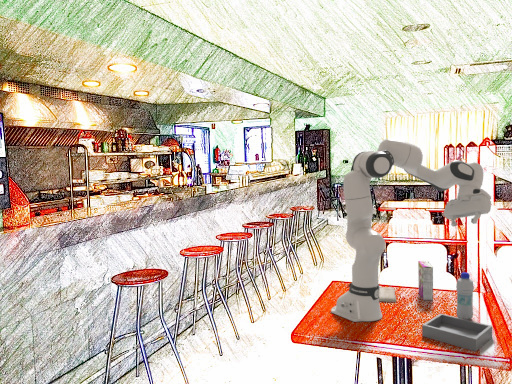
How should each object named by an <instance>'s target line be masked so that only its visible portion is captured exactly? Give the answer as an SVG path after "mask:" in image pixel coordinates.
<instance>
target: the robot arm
mask: <svg viewBox="0 0 512 384" xmlns="http://www.w3.org/2000/svg"><path fill="white" fill-rule="evenodd" d="M423 156H424V155H423V152H422V150H421V148H420V147H418V146H417V145H415V144H413V143H410V142H407V141H403V140H399V139H393V138H386V139H383V140H382V141H381V142H380V144H379V145H378V149H377V150H376V151H372V150H370V151H362V152H359V153H358V154H356V155H355V156H354V157H353V161H352V165H351V167H350V171H349V172H347V173H346V174H345V175H344V177H343V195H344V203H345V209H346V215H347V217H346V218H347V223H346V226H347V227H346V229H347V230H346V232H345V239H346V242H347V243H348V245H349V246H350V247H351V248H352V249H354V250H355V258H354V262H353V264H352V265H351V266H352V267H351V273H352V274H351V283H349V284H346V286H347V287H346V288H349V289H348V290H347V291H346V292H345V293H343V294H342V295H340V296H339V297H338V298H337V300H336V303H335V304H336V305H334V306H333V307H332V308H331V309H330V310H331V311H330V313H331V314H333V315H334V314H335V315H337V316H338V317H342V318H344V319H346V320H349V321H351V322H375V321H379V320H381V319H382V318H383V314H382V310H381V305H380V301H379V287H380V284H379V265H380V260H381V257H382V254H383V253H384V252H385V249H386V240H385V239H384V238H383V236H382V235H381V234H380V233H379V232H378V231H375V230H374V229H373V228H372V217H373V215H374V207H373V200H372V193H371V188H370V185H371V184H370V183H371V180H372V179H373V178H374V179H380V178H384V177H386V176H388V174H390V172H391V170H392V167H393V166H395V167H398V168H401V169H403V170H404V172H405V173H406V174H408V175H410V176H412V177H415V178H417V179H419V180H420V181H422V182H425V183H427V184H429V185H430V186H432V188H434V189H436V190H437V191H440V192H445V191H447V190H448V189H449V190H450V189H451V187H453V186H456V185H457V186H459V187H458V193H457V198H455V199H450V200H449V201H447V202H446V205H445V208H444V211H443V217H444V218H446V219H447V220H450V221H451V223H450V225H451V226H452V227H457V226H458V222H456V220H457V219H460V218H461V219H462V218H467V217H473V218H471V221H470V222H471V224H474V225H475V224H478V221H479V219H480V217H481V216H482V215H487V214H489V213H490V212H491V209H492V208H491V207H492V201H491V199H492V196H491V195H490V194H489V193H488V192H487V191H486V190H484V189H482V186H483V182H484V169H483V167H482V165H481V164H479V163H478V162H474V161H468V162H465V161H463V160H459V159H455V160H452V161H451V162H449V163H447V164H445V165H443V166H441V167H440V168H438V169H431V168H429V167H427V166H425V165H423V164H422V163H423Z"/></svg>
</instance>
